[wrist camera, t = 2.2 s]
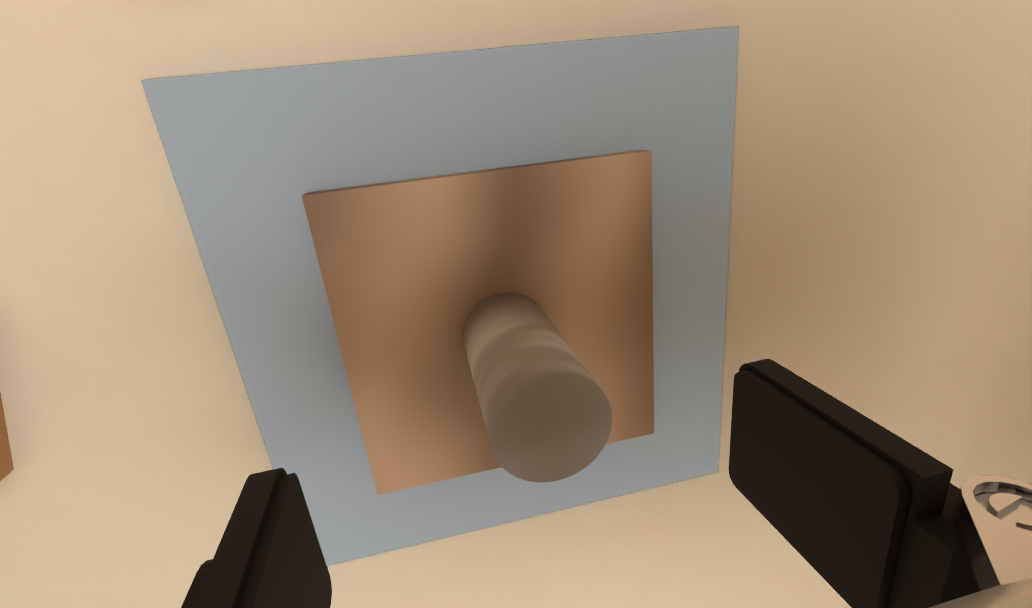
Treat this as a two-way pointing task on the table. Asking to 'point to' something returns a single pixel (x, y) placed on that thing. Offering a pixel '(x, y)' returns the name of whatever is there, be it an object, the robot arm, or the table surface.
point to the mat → (441, 151)
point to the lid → (494, 315)
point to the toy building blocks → (4, 447)
